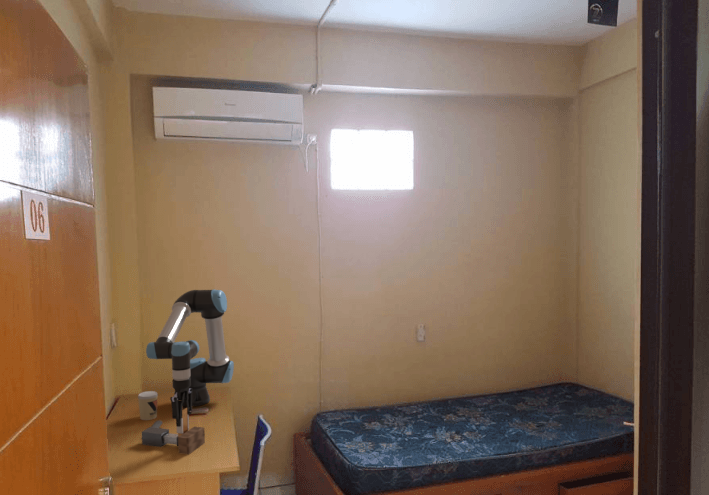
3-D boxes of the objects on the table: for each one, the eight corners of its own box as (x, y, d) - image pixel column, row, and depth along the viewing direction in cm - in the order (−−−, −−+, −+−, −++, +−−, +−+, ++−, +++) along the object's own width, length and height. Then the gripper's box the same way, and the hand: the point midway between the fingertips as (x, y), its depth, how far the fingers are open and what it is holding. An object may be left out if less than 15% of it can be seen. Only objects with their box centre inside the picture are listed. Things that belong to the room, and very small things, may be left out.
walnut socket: (194, 441, 239) (194, 426, 238) (204, 443, 237) (204, 427, 237) (178, 453, 227) (178, 437, 227) (188, 454, 226) (188, 438, 225)
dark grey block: (150, 439, 242) (149, 427, 241) (169, 442, 239) (168, 429, 238) (142, 444, 236) (141, 431, 236) (161, 447, 233) (160, 434, 233)
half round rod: (140, 440, 242) (140, 436, 242) (154, 423, 262) (154, 420, 262) (150, 440, 242) (150, 436, 242) (163, 423, 262) (163, 420, 262)
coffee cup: (151, 421, 264) (150, 397, 263) (134, 420, 266) (133, 396, 265) (162, 414, 273) (161, 391, 272) (145, 413, 275) (144, 390, 274)
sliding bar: (157, 439, 240) (156, 403, 239) (196, 443, 234) (195, 407, 233) (151, 443, 235) (150, 407, 235) (190, 448, 230) (189, 411, 229)
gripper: (185, 372, 241) (186, 423, 242) (161, 383, 225) (163, 437, 226) (200, 373, 239) (201, 424, 240) (177, 384, 223) (178, 439, 224)
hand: (182, 430), depth 233 cm, fingers closed on sliding bar, 4 cm apart
